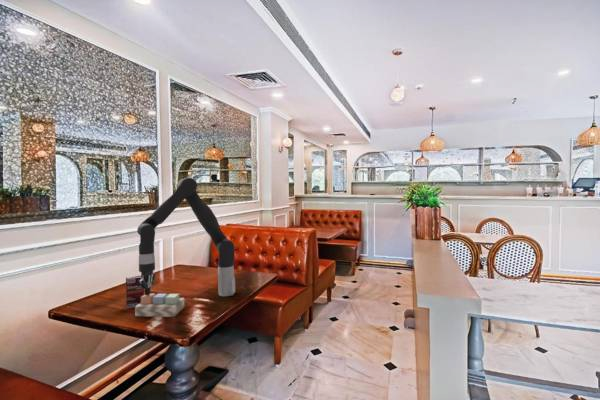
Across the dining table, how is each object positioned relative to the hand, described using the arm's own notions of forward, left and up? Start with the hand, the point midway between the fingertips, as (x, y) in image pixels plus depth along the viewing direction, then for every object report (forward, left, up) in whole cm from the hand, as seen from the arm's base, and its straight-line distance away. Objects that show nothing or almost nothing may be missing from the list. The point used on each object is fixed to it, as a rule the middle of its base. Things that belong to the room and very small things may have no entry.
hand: (147, 294), depth 157 cm
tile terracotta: (0, 0, -4) cm, 4 cm away
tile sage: (-13, 0, -4) cm, 14 cm away
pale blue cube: (-7, 0, -4) cm, 8 cm away
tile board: (-7, 0, -9) cm, 11 cm away
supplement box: (+11, -7, -9) cm, 16 cm away
